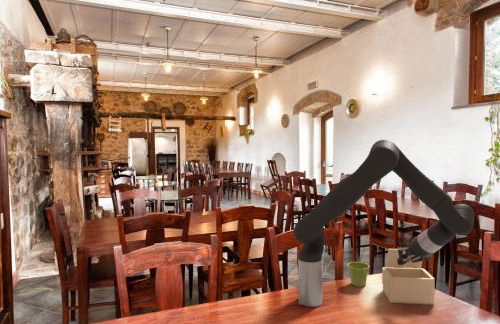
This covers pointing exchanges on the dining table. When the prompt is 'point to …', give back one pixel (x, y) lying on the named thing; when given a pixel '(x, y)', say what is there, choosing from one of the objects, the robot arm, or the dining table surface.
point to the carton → (408, 285)
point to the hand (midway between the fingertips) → (399, 262)
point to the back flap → (394, 256)
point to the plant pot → (358, 273)
